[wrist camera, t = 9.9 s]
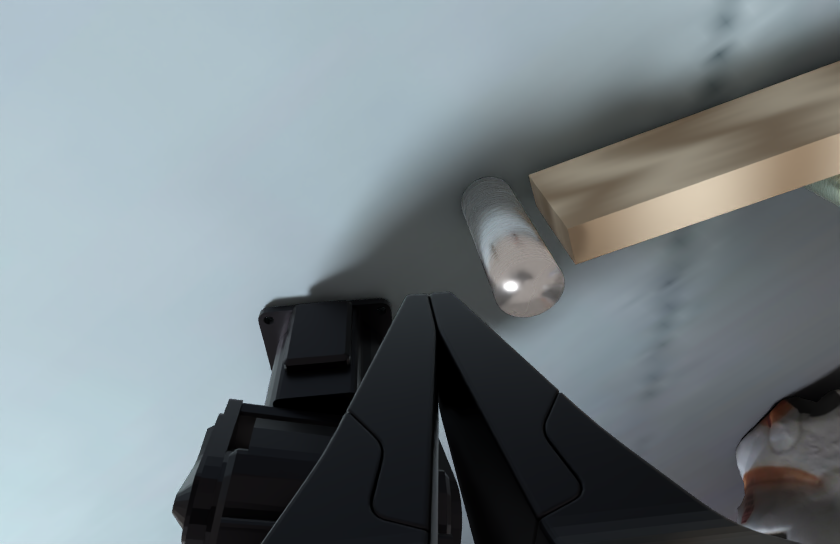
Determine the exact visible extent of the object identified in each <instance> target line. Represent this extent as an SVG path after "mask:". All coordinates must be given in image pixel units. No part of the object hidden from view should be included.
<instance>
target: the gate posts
mask: <svg viewBox="0 0 840 544" xmlns="http://www.w3.org/2000/svg"><path fill="white" fill-rule="evenodd" d="M803 187H804V188H806V189H807V190H809V191H811V192H813V193H815V194H817V195H818V196H820V197H822V198H824V199H826V200H828V201H829V202H831V203H833V204H835V205H837V206H839V207H840V174H838V175H835V176H832V177H829V178H826V179H823V180H820V181H817V182H814V183H812V184H809V185H806V186H803ZM461 208H462V211H463V214H464V217H465V219H466V222H467V225H468V227H469V230H470V233H471V235H472V238H473V241H474V243H475V246H476V249H477V251H478V254H479V257H480V259H481V262H482V265H483V268H484V270H485V273H486V276H487V278H488V281H489V284H490V286H491V289H492V292H493V294H494V297H495V300H496V302H497V304H498V306H499V307H500V308H501V309H502V310H503V311H504V312H506V313H507V314H509V315H512V316H516V317H531V316H535V315H538V314H541V313H543V312H545V311H547V310H548V309H550V308H551V307H552V306H553V305H554V304H555V303H556V302H557V301H558V300H559V298H560V297H561V295H562V293H563V290H564V284H565V281H564V276H563V273H562V271H561V270H560V268H559V266H558V265H557V263H556V262H555V260H554V258H553V257H552V255H551V253H550V252H549V250H548V248H547V247H546V245H545V244H544V242H543V240H542V239H541V237H540V235H539V234H538V232H537V230H536V229H535V227H534V226H533V224H532V222H531V221H530V219H529V217H528V216H527V214H526V212H525V211H524V209H523V208H522V206H521V204H520V203H519V201H518V199H517V198H516V196H515V194H514V193H513V191H512V190H511V188H510V186H509V185H508V184H507V183H506V182H505V181H503V180H501V179H499V178H496V177H485V178H481V179H478V180H476V181H475V182H473V183H472V184H471V185H469V186H468V188H467V189H466V190H465V192H464V194H463V196H462V200H461Z"/></svg>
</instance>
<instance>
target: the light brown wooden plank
mask: <svg viewBox="0 0 840 544" xmlns="http://www.w3.org/2000/svg"><path fill="white" fill-rule="evenodd" d="M838 174H840V61H838V62H835V63H832V64H829V65H827V66H824V67H821V68H818V69H816V70H813V71H810V72H808V73H805V74H802V75H799V76H797V77H794V78H791V79H789V80H786V81H783V82H780V83H778V84H775V85H772V86H769V87H767V88H764V89H761V90H759V91H756V92H753V93H750V94H748V95H745V96H742V97H740V98H737V99H734V100H731V101H729V102H726V103H723V104H721V105H718V106H715V107H712V108H710V109H707V110H704V111H701V112H699V113H696V114H693V115H691V116H688V117H685V118H682V119H680V120H677V121H674V122H672V123H669V124H666V125H663V126H661V127H658V128H655V129H652V130H650V131H647V132H644V133H642V134H639V135H636V136H633V137H631V138H628V139H625V140H623V141H620V142H617V143H614V144H612V145H609V146H606V147H603V148H601V149H598V150H595V151H593V152H590V153H587V154H584V155H582V156H579V157H576V158H574V159H571V160H568V161H565V162H563V163H560V164H557V165H555V166H552V167H549V168H546V169H544V170H541V171H538V172H535V173H533V174H530V175H529V179H530V183H531V187H532V191H533V195H534V199H535V203H536V206H537V208H538V209H539V211H540V212H541V214H542V215H543V217H544V218H545V220H546V221H547V223H548V224H549V226H550V227H551V229H552V230H553V232H554V233H555V235H556V236H557V238H558V239H559V241H560V242H561V244H562V245H563V247H564V248H565V250H566V251H567V253H568V254H569V256H570V257H571V259H572V260H573V262H574V263H575V265H576V264H579V263H581V262H584V261H587V260H590V259H593V258H596V257H599V256H602V255H605V254H608V253H611V252H613V251H616V250H619V249H622V248H625V247H628V246H631V245H634V244H637V243H640V242H643V241H646V240H648V239H651V238H654V237H657V236H660V235H663V234H666V233H669V232H672V231H675V230H678V229H680V228H683V227H686V226H689V225H692V224H695V223H698V222H701V221H704V220H707V219H710V218H713V217H715V216H718V215H721V214H724V213H727V212H730V211H733V210H736V209H739V208H742V207H745V206H747V205H750V204H753V203H756V202H759V201H762V200H765V199H768V198H771V197H774V196H777V195H780V194H782V193H785V192H788V191H791V190H794V189H797V188H800V187H803V186H806V185H809V184H812V183H814V182H817V181H820V180H823V179H826V178H829V177H832V176H835V175H838Z"/></svg>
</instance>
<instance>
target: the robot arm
mask: <svg viewBox="0 0 840 544" xmlns="http://www.w3.org/2000/svg"><path fill="white" fill-rule="evenodd" d="M379 307H384V308H385V309H384V310H378V309H377V308H379ZM267 316H270V317H272V318H273V319H271V320H270V319H267V318H266V317H267ZM258 321H259V325H260V329H261V333H262V336H263V340H264V344H265V348H266V351H267V355H268V359H269V363H270V366H271V370H272V374H271V378H270V383H269V387H268V392H267V396H266V401H265V406H263V405H255V404H247V403H243V400H236V399H229V401H228V404H227V407H226V409H225V412H224V414H222V413H220V414H219V416H218V418H217V421H216V423H215V425H214V426H212V427H210V428H208V429H207V432H206V435H205V438H204V441H203V444H202V447H201V450H200V453H199V456H198V458H197V461H196V463H195V465H194V467H193V469H192V470H191V472H190V474H189V475H188V477H187V478H186V480H185V482H184V483H183V485H182V487H181V488H180V490H179V491H178V493H177V495H176V498H175V501H174V505H173V510H172V514H173V515H174V517H175V518H176V520H177V521H178V523H179V524H180V526H181V527H182V529H183V531H182V539H181V542H182V544H461V533H462V508H461V499H460V493H459V488H458V485H457V482H456V479H455V477H454V474H453V472H452V469H451V467H450V465H449V462H448V460H447V457H446V455H445V452H444V450H443V447H442V445H441V443H440V440H439V438H438V436H439V414H438V403H439V409H440V413H441V417H442V422H443V425H444V429H445V433H446V437H447V441H448V444H449V448H450V452H451V456H452V460H453V463H454V467H455V471H456V475H457V479H458V482H459V486H460V490H461V494H462V498H463V501H464V505H465V509H466V513H467V517H468V520H469V524H470V528H471V532H472V536H473V539H474V543H475V544H802V543H798V542H795V541H791V540H787V539H783V538H779V537H776V536H772V535H768V534H764V533H761V532H758V531H755V530H752V529H749V528H747V527H744V526H742V525H740V524H738V523H736V522H734V521H732V520H730V519H727V518H726V517H724V516H722V515H721V514H719V513H717V512H716V511H714V510H712V509H711V508H709V507H708V506H707V505H705V504H704V503H702V502H701V501H699V500H698V499H697V498H695V497H694V496H692V495H691V494H690V493H688V492H687V491H686V490H684V489H683V488H682V487H680V486H679V485H678V484H676V483H675V482H674V481H672V480H671V479H669V478H668V477H667V476H665V475H664V474H663V473H661V472H660V471H659V470H657V469H656V468H655V467H653V466H652V465H650V464H649V463H648V462H646V461H645V460H644V459H642V458H641V457H640V456H638V455H637V454H636V453H634V452H633V451H632V450H630V449H629V448H627V447H626V446H625V445H624V444H622V443H621V442H620V441H618V440H617V439H616V438H615V437H613V436H612V435H611V434H609V433H608V432H607V431H606V430H604V429H603V428H602V427H600V426H599V425H598V424H597V423H596V422H594V421H593V420H592V419H591V418H590V417H589V416H588V415H586V414H585V413H584V412H583V411H582V410H581V409H579V408H578V407H577V406H576V405H575V404H574V403H573V402H571V401H570V400H569V399H568V398H567V397H566V396H565V395H564V394H563V393H559V390H558V389H557V388H556V387H555V386H554V385H553V384H551V383H550V382H549V381H548V380H547V379H546V378H545V377H544V376H543V375H542V374H540V373H539V372H538V371H537V370H536V369H535V368H534V367H533V366H532V365H531V364H529V363H528V362H527V361H526V360H525V359H524V358H523V357H522V356H521V355H520V354H518V353H517V352H516V351H515V350H514V349H513V348H512V347H511V346H510V345H509V344H507V343H506V342H505V341H504V340H503V339H502V338H501V337H500V336H499V335H498V334H496V333H495V332H494V331H493V330H492V329H491V328H490V327H489V326H488V325H487V324H486V323H484V322H483V321H482V320H481V319H480V318H479V317H478V316H477V315H476V314H475V313H473V312H472V311H471V310H470V309H469V308H468V307H467V306H466V305H465V304H464V303H462V302H461V301H460V300H459V299H458V298H457V297H456V296H455V295H454V294H453V293H451V292H438V293H431V294H430V295H429V296H428V295H427V294H413V295H407V296H406V297H405V299H404V301H403V303H402V305H401V307H400V308H399V310H398V312H397V314H396V316H395V318H394V320H393V322H392V314H391V305H390V302H389V301H388V300H386V299H383V298H377V299H365V300H353V301H346V300H344V301H332V302H320V303H307V304H298V305H292V306H279V307H268V308H264V309H263V310H261V312H260V315H259V318H258Z"/></svg>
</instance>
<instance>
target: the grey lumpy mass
mask: <svg viewBox="0 0 840 544" xmlns="http://www.w3.org/2000/svg"><path fill="white" fill-rule="evenodd" d="M736 458H737V465H738V468H739V470H740V475H741V477H742V479H743V482H744V487H745V496H744V499H743V501H742V503H741V505H740V506H739V507H738V518H737V523H738V524H740V525H742V526H744V527H747V528H749V529H752V530H755V531H758V532H761V533H764V534H768V535H772V536H776V537H779V538H783V539H787V540H791V541H795V542H798V543H802V544H840V389H837V390H833V391H829V392H828V393H827V394H825V395H824V396H823V397H822V398H821V399H820V400H819V401H818V402H813V401H810V400H807V399H803V398H800V397H797V396H795V397H792V398H790V399H785V400H782V401H780V402H779V403H778V405H777V406H776V407H775V408H774V409H773V410H772V411H771V412H770V413H769V414H768V415H767V416H766V417H765V418H764V419H763V420H762V421H761V422H760V423H759V424H758V425H757V426H756V427H755V428H754V429H753V430H752V431H751V432H749V433H748V434H747V435H746V436H745V437H744V438H743V439H742V441H741V442H740V443H739V444H738V446H737V448H736Z"/></svg>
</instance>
